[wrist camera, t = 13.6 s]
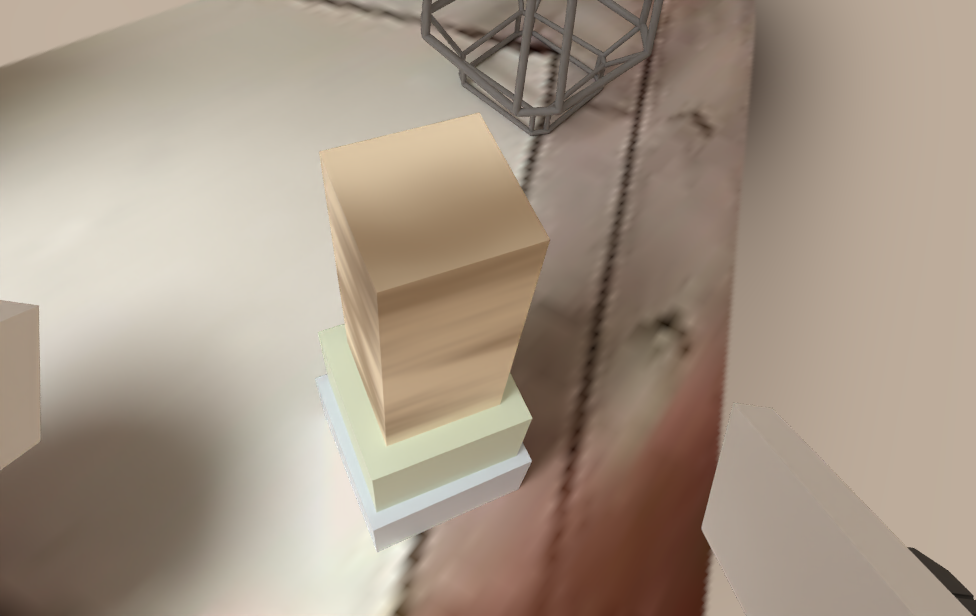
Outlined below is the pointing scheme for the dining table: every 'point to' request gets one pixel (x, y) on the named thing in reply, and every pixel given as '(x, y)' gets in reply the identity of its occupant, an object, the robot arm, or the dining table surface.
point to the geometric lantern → (568, 36)
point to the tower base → (425, 507)
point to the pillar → (431, 269)
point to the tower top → (427, 454)
